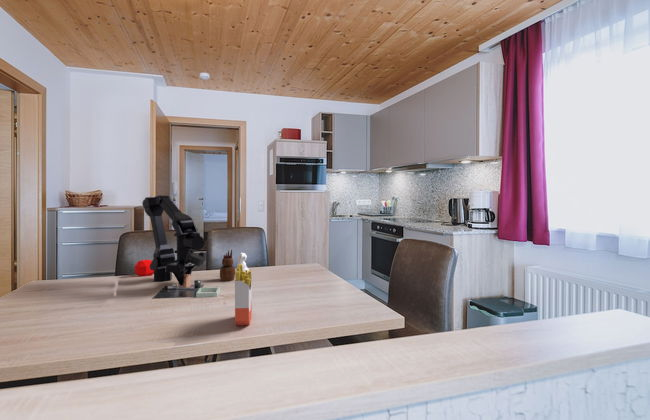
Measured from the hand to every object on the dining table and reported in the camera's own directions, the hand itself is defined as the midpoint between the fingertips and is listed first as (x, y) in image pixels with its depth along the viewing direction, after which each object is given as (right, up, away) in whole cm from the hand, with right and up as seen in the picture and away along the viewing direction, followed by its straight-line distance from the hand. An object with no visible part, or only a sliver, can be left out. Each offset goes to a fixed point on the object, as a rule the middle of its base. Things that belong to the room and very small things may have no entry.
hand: (184, 284), depth 144 cm
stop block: (0, -1, 0) cm, 1 cm away
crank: (+1, -1, -3) cm, 3 cm away
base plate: (+1, -3, -6) cm, 6 cm away
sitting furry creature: (+18, -1, +22) cm, 28 cm away
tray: (+13, -3, -9) cm, 16 cm away
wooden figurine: (+15, -2, +12) cm, 19 cm away
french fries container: (+34, -5, -35) cm, 48 cm away
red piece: (-27, -1, +21) cm, 35 cm away
